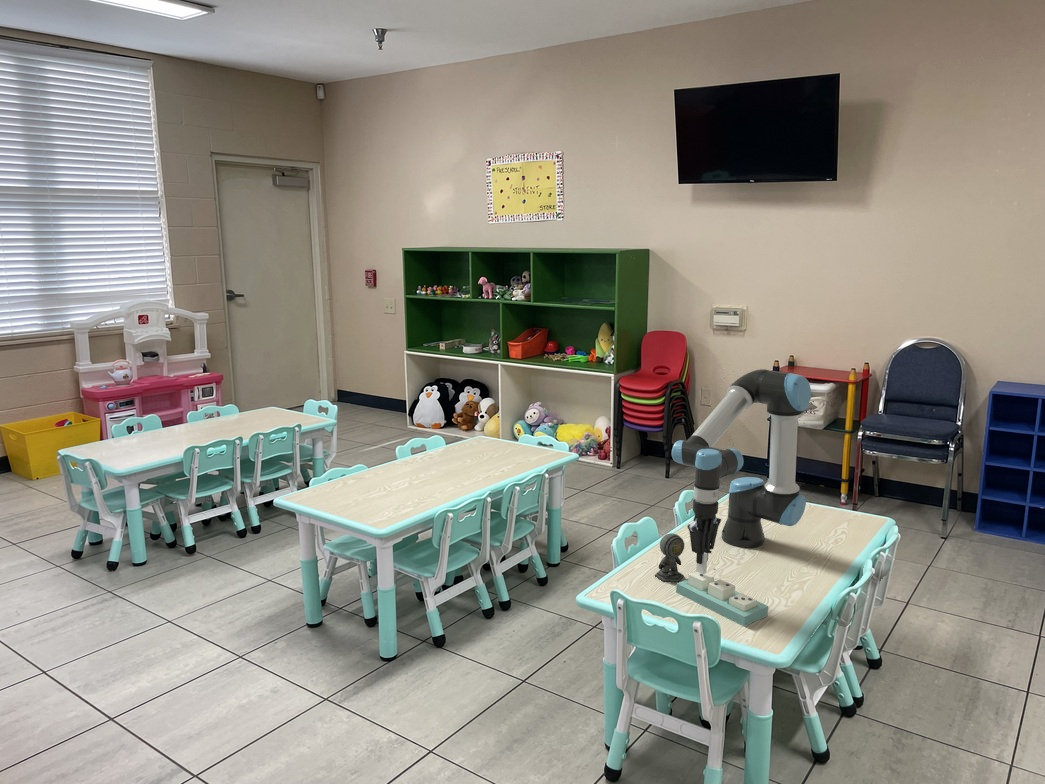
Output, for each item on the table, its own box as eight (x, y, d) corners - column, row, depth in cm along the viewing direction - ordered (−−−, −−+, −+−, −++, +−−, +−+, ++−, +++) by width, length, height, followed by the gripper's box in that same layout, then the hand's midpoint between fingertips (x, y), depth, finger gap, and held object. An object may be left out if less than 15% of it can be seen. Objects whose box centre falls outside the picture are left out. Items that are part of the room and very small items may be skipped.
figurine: (668, 585, 248) (670, 541, 245) (649, 573, 256) (651, 530, 253) (689, 580, 252) (691, 536, 248) (670, 568, 260) (672, 526, 257)
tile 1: (687, 586, 242) (688, 573, 242) (699, 581, 246) (700, 569, 245) (701, 592, 238) (702, 580, 237) (713, 588, 241) (714, 575, 240)
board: (676, 592, 243) (676, 583, 242) (699, 583, 249) (700, 574, 249) (743, 626, 223) (744, 616, 222) (767, 615, 229) (768, 606, 228)
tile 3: (728, 610, 230) (729, 597, 229) (740, 605, 233) (741, 592, 232) (743, 618, 226) (744, 604, 225) (755, 612, 229) (756, 599, 228)
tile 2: (707, 595, 236) (708, 583, 235) (719, 591, 239) (720, 578, 238) (722, 603, 232) (723, 589, 231) (734, 597, 235) (735, 585, 234)
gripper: (701, 507, 229) (696, 582, 234) (729, 499, 237) (724, 571, 241) (681, 500, 235) (677, 573, 240) (710, 492, 243) (705, 563, 247)
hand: (701, 572), depth 241 cm, fingers closed
